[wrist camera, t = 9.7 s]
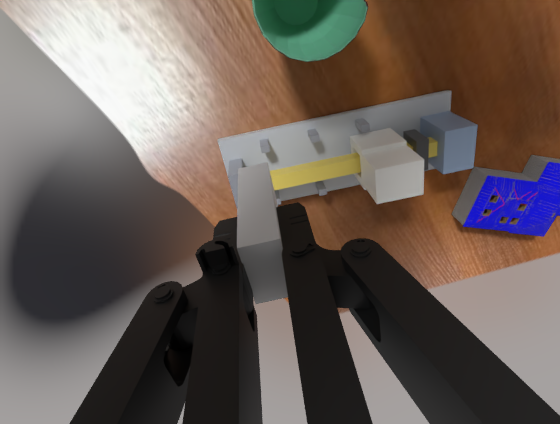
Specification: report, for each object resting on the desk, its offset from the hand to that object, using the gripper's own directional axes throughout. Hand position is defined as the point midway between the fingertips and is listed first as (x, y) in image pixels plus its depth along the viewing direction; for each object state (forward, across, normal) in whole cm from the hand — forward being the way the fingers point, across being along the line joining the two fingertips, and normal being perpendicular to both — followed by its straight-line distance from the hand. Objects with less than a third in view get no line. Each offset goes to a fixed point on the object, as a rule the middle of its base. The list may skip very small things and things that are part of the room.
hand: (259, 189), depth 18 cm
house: (+27, +34, -23) cm, 49 cm away
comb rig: (+27, +9, -11) cm, 30 cm away
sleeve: (+25, +13, -11) cm, 30 cm away
